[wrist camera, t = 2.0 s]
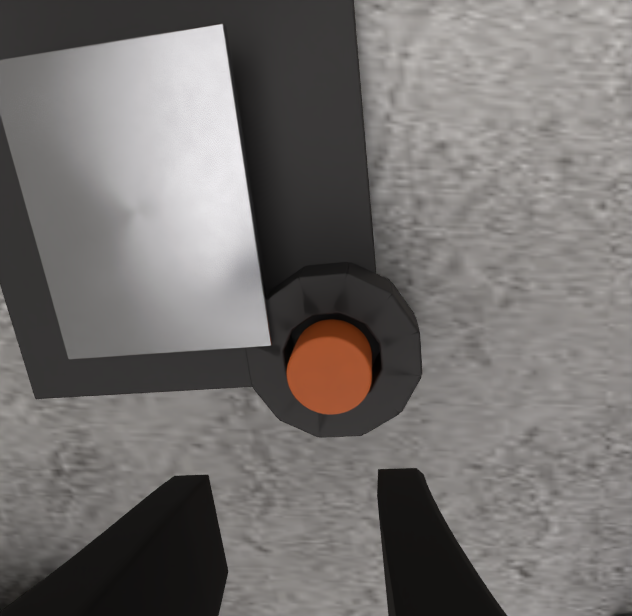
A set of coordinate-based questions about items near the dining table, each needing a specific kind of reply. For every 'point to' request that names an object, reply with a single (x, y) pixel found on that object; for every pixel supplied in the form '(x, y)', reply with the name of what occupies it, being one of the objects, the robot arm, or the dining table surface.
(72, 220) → the scale platform
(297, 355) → the button
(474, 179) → the dining table surface
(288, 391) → the scale
